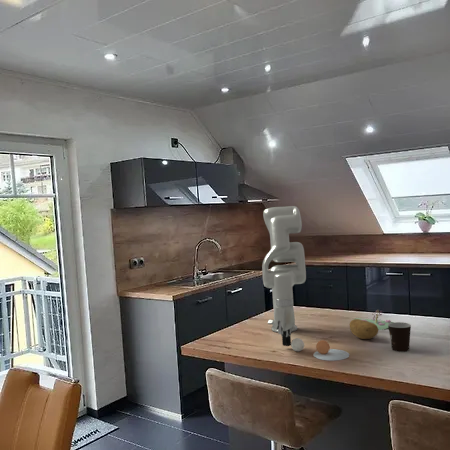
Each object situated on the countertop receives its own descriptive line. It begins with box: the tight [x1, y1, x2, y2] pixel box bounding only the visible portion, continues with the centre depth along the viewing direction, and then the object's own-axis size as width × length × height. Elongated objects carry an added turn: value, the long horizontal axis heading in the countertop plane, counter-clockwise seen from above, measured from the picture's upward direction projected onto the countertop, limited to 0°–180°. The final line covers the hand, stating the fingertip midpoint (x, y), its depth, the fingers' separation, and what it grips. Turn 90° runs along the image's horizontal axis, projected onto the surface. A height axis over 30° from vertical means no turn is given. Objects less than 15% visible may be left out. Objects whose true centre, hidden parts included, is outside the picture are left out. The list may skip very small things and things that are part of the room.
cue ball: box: [290, 337, 305, 352], centre depth 198 cm, size 5×5×5 cm
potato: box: [349, 318, 379, 340], centre depth 210 cm, size 10×14×8 cm
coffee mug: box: [387, 321, 412, 353], centre depth 193 cm, size 12×9×10 cm
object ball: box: [315, 339, 331, 354], centre depth 193 cm, size 5×5×5 cm
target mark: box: [313, 348, 350, 362], centre depth 191 cm, size 14×14×1 cm
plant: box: [352, 310, 394, 331], centre depth 235 cm, size 25×21×9 cm
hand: (286, 345), depth 202 cm, fingers closed
